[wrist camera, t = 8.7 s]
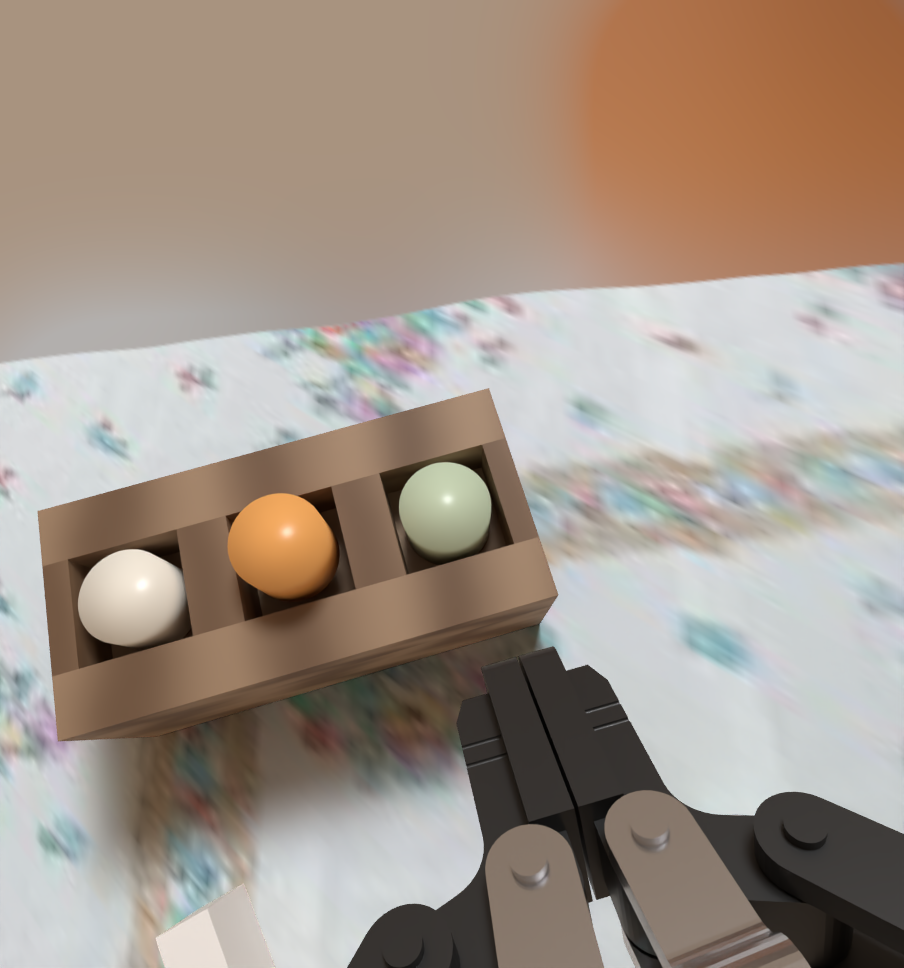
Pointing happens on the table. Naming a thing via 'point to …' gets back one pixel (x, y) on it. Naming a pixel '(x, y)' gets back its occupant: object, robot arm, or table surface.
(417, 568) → the wooden egg holder
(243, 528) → the orange egg
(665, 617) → the table surface
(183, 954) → the white stepped block
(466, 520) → the sage egg
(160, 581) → the cream egg
